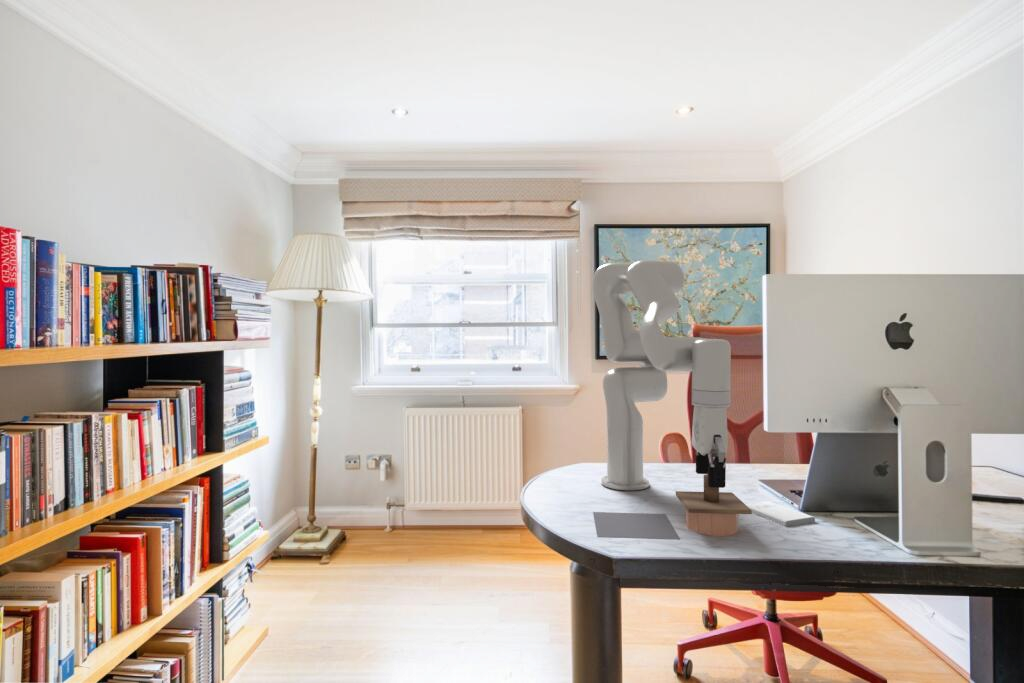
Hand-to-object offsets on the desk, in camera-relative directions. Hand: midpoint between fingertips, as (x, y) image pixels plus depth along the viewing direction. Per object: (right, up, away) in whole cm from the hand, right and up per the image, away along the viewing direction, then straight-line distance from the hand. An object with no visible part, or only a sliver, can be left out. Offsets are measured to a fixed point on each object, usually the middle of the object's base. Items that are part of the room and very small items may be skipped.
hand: (709, 480), depth 110 cm
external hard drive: (+18, -10, +8) cm, 22 cm away
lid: (0, -5, 0) cm, 5 cm away
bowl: (0, -10, 0) cm, 10 cm away
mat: (-16, -10, +1) cm, 19 cm away
